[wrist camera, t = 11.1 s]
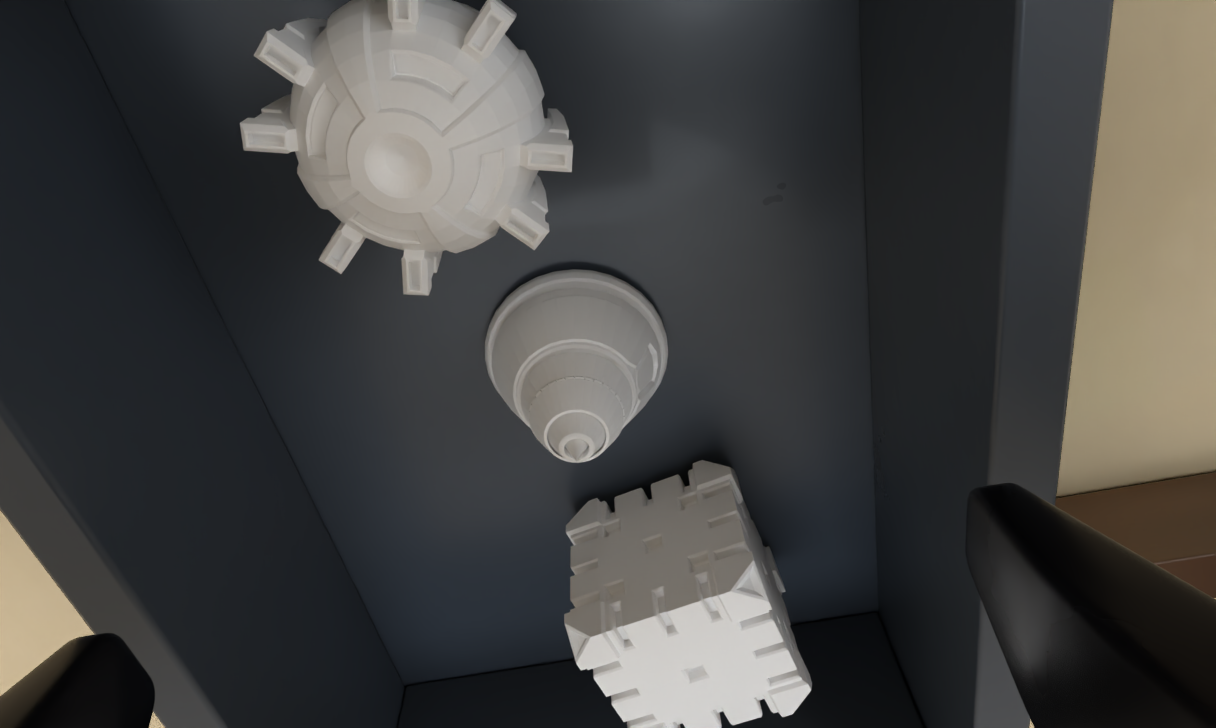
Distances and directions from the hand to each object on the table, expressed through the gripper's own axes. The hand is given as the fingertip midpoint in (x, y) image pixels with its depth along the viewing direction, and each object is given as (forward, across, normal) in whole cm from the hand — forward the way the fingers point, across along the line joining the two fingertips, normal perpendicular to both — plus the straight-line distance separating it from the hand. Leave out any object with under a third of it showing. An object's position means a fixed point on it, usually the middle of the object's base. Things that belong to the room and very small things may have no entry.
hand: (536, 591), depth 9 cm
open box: (+6, 0, 0) cm, 6 cm away
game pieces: (+6, 0, 0) cm, 6 cm away
